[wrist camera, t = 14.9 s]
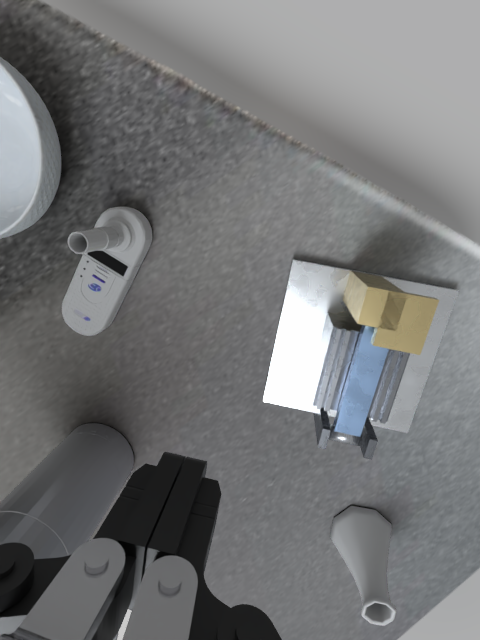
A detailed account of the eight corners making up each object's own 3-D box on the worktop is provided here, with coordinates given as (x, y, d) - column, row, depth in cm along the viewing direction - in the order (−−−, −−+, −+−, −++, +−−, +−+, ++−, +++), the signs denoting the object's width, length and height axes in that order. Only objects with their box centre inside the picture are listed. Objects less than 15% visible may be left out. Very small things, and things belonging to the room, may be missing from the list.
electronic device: (4, 343, 33) (60, 194, 28) (68, 312, 42) (118, 196, 37) (55, 374, 33) (119, 231, 28) (107, 336, 42) (163, 224, 37)
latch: (391, 324, 36) (420, 355, 28) (338, 314, 36) (352, 341, 28) (405, 280, 35) (439, 300, 27) (350, 270, 35) (367, 286, 27)
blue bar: (356, 440, 35) (359, 449, 33) (327, 433, 35) (329, 442, 33) (393, 327, 31) (397, 332, 30) (360, 320, 31) (363, 326, 30)
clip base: (404, 427, 40) (432, 478, 32) (263, 397, 41) (257, 438, 33) (454, 288, 35) (500, 309, 27) (292, 258, 36) (293, 270, 29)
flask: (319, 536, 46) (327, 620, 36) (347, 495, 43) (364, 574, 34) (371, 560, 46) (392, 651, 36) (402, 520, 43) (433, 606, 34)
